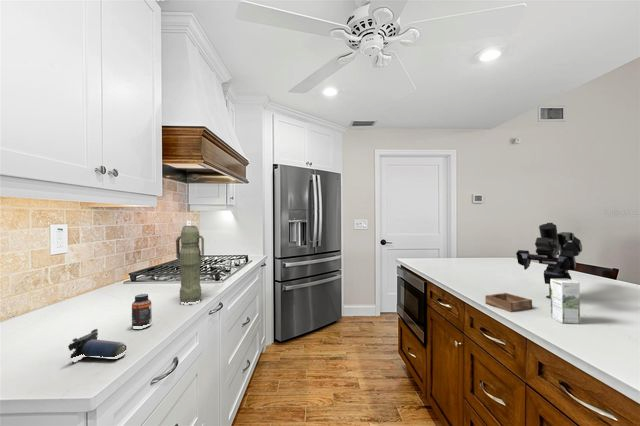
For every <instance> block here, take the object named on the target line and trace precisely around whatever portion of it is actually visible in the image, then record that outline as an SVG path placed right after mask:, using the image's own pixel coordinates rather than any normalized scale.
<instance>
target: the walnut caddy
mask: <svg viewBox="0 0 640 426" xmlns="http://www.w3.org/2000/svg"><path fill="white" fill-rule="evenodd" d="M485 305H489V306H490V307H495V308H497V309H500V310H504V311H506V312H509V313H515V312H521V311H526V310H531V309H533V300H532V299H530V298H525V297H523V296H519V295H514V294H511V293H508V292H507V293H506V292H502V293H501V292H500V293H495V294H487V295H485Z"/></svg>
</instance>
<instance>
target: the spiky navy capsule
mask: <svg viewBox="0 0 640 426" xmlns="http://www.w3.org/2000/svg"><path fill="white" fill-rule="evenodd" d="M98 331H99V330H98V328H95V329H93V330H91V331H90V333H88V334H86V335H85V334H84V336H80V337H79V338H77V337H75V338H73V339H72V340H71V341H72V342H70V343H69V345H68V350H69V351H70V352H71V351H72V352H73V353H71V354H70V359H71V358H73V357H76V356H79V355H81V354H82V355H83V354H84V355H85V356H100V357H102V356H103V357H115V356H117V355H119V354H121V353H123V352H124V351H125V350H126V351H127V345H126V344H125V343H124V342H123V341H122V342H121V341H112V340H105V339H103V340H101V339H98V337H99V336H98V334H99V332H98Z"/></svg>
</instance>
